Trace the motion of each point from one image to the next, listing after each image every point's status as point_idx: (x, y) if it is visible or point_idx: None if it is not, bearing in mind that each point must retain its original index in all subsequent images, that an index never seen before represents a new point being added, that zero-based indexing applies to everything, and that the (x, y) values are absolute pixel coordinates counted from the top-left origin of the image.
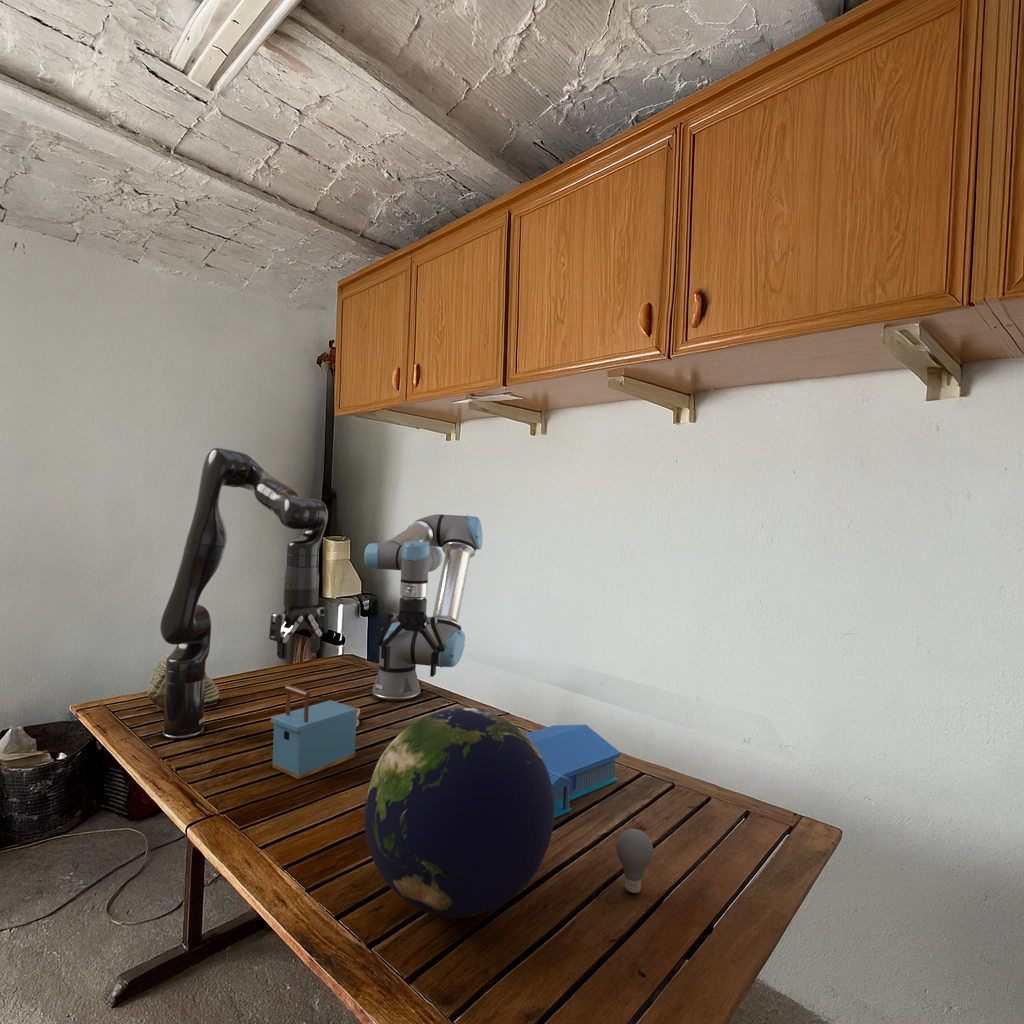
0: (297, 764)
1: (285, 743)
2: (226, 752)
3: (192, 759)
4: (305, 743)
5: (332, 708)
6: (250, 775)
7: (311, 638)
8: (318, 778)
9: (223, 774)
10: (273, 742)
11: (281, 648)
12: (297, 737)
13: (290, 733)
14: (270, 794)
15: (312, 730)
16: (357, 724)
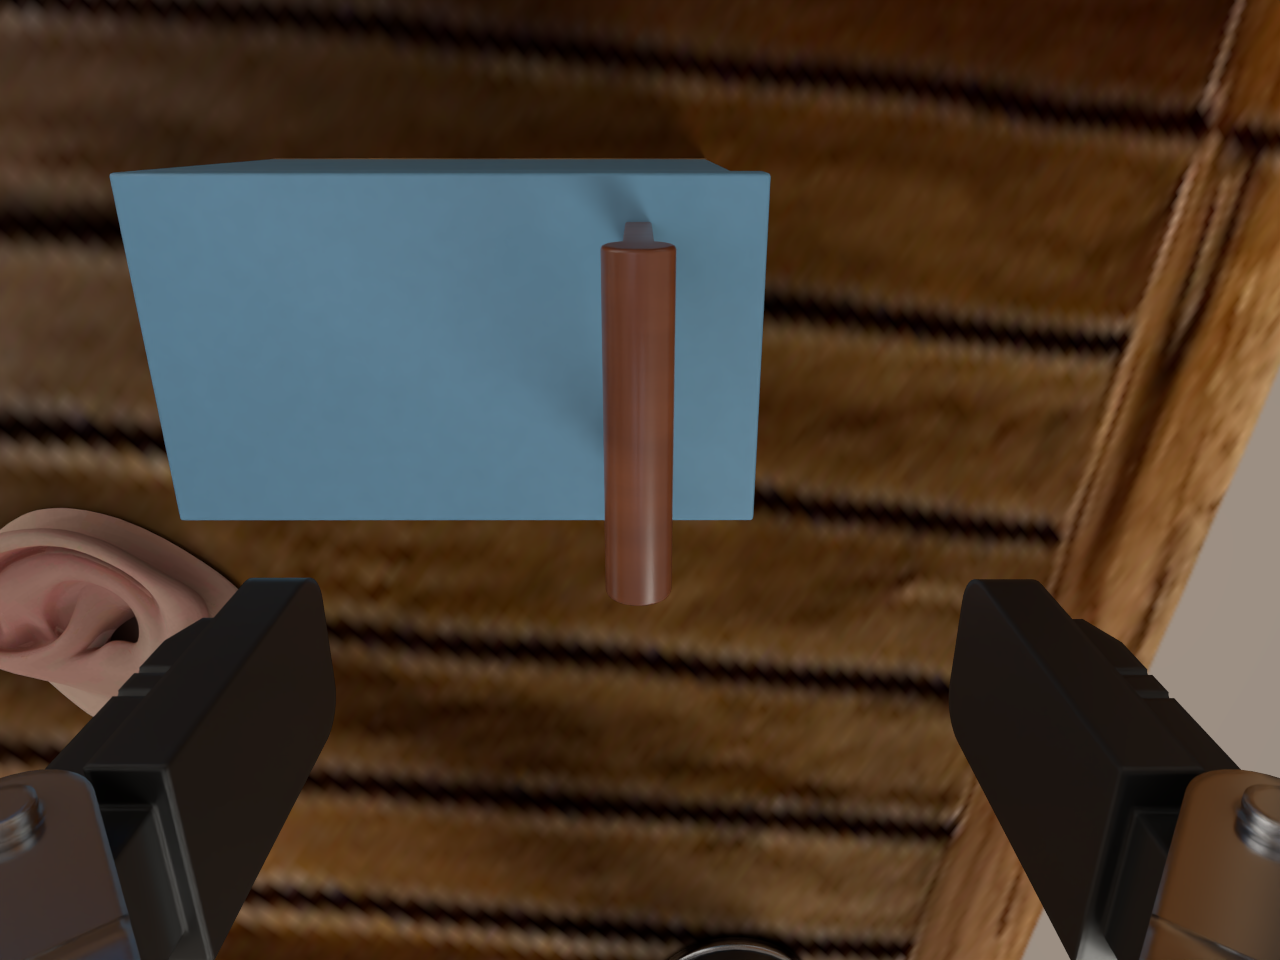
0: None
1: None
2: (735, 710)
3: (881, 744)
4: (673, 166)
5: (282, 340)
6: (832, 402)
7: (226, 894)
8: (621, 77)
9: (903, 508)
10: None
11: (1186, 726)
12: None
13: None
14: (921, 115)
15: (612, 170)
16: (6, 529)
